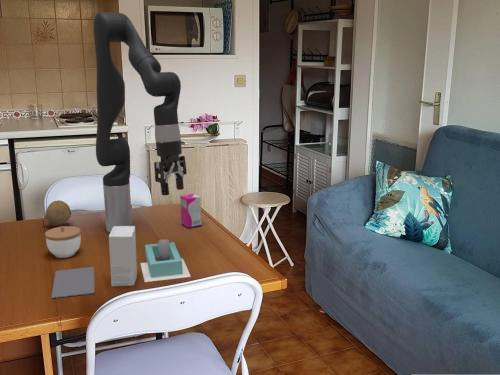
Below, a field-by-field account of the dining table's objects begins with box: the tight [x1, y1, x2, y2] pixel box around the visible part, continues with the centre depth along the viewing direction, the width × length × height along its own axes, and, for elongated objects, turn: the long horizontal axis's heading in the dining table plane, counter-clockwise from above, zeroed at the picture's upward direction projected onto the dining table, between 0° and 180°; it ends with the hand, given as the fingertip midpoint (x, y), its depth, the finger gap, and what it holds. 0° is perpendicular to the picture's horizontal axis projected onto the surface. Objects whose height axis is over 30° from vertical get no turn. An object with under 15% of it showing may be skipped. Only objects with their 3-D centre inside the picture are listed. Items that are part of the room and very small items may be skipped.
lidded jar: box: [44, 225, 82, 259], centre depth 169 cm, size 11×11×9 cm
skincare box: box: [108, 225, 138, 287], centre depth 147 cm, size 8×7×16 cm
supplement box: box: [179, 193, 202, 229], centre depth 196 cm, size 6×6×12 cm
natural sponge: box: [44, 199, 72, 228], centre depth 195 cm, size 9×9×10 cm
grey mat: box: [50, 266, 96, 300], centre depth 149 cm, size 18×12×1 cm, turn 16°
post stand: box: [140, 238, 191, 283], centre depth 155 cm, size 14×13×10 cm
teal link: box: [144, 241, 182, 278], centre depth 159 cm, size 16×9×4 cm, turn 16°
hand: (173, 192), depth 163 cm, fingers open, 8 cm apart
